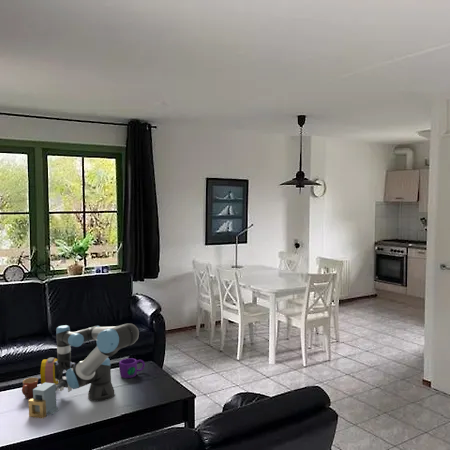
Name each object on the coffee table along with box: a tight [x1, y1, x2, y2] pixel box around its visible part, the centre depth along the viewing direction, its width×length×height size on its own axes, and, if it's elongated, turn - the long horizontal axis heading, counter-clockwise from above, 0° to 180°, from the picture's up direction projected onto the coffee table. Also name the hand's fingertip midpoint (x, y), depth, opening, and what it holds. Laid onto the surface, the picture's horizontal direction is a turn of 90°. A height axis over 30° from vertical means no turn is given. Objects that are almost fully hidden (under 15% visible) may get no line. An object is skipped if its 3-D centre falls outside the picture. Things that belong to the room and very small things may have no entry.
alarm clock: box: [39, 357, 59, 385], centre depth 296 cm, size 15×8×18 cm, turn 9°
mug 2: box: [118, 357, 146, 379], centre depth 313 cm, size 17×11×10 cm, turn 124°
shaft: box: [56, 375, 68, 392], centre depth 273 cm, size 5×21×5 cm, turn 164°
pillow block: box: [33, 382, 59, 416], centre depth 263 cm, size 12×10×14 cm
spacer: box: [27, 399, 47, 419], centre depth 257 cm, size 9×2×9 cm, turn 74°
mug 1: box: [21, 377, 39, 400], centre depth 280 cm, size 12×9×10 cm
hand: (65, 390), depth 281 cm, fingers closed on shaft, 5 cm apart
